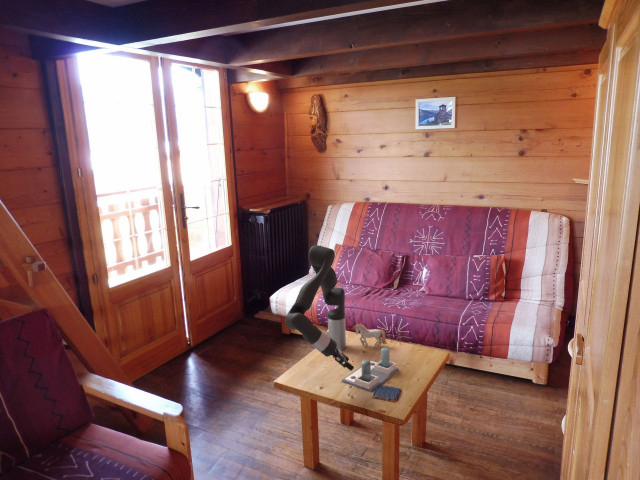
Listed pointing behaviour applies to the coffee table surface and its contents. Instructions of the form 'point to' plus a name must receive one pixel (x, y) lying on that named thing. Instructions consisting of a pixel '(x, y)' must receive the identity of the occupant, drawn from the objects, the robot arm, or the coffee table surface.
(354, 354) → the coffee table surface
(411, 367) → the coffee table surface
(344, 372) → the coffee table surface
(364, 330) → the unicorn figurine
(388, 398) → the woven mat
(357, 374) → the peg board
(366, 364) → the teal peg
